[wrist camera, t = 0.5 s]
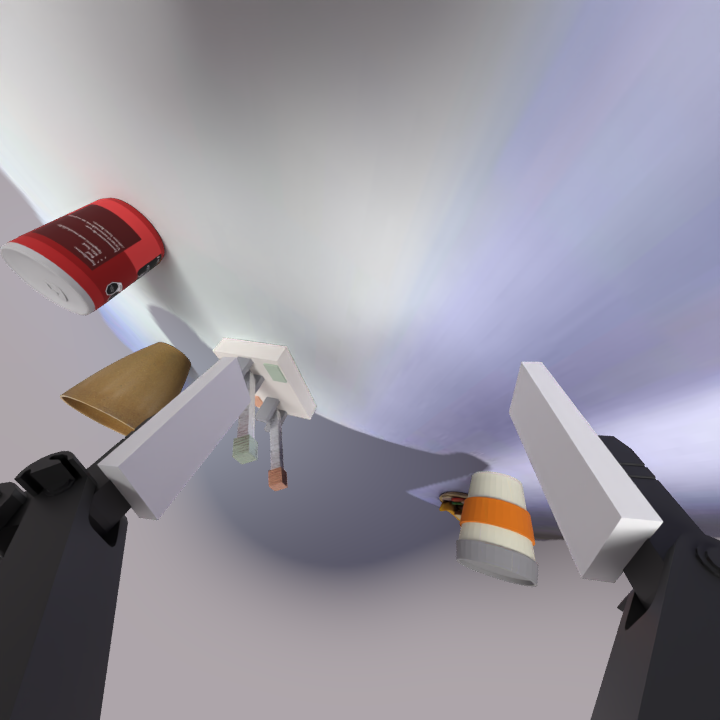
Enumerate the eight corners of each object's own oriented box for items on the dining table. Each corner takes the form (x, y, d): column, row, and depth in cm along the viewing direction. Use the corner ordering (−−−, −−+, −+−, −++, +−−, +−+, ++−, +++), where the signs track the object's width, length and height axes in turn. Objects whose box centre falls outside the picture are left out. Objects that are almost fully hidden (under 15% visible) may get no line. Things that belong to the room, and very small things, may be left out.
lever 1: (238, 367, 43) (232, 456, 33) (251, 364, 43) (248, 451, 34) (245, 377, 45) (241, 464, 35) (258, 373, 45) (257, 459, 35)
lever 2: (267, 405, 51) (268, 486, 42) (277, 402, 52) (282, 482, 42) (272, 412, 53) (274, 491, 43) (282, 409, 53) (287, 487, 43)
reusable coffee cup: (471, 489, 62) (465, 569, 53) (454, 464, 55) (444, 551, 46) (537, 498, 55) (544, 592, 46) (528, 471, 48) (533, 576, 39)
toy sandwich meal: (474, 490, 63) (473, 512, 60) (506, 513, 68) (506, 535, 65) (429, 489, 72) (426, 508, 69) (461, 510, 77) (459, 529, 74)
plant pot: (207, 354, 53) (141, 430, 43) (208, 385, 64) (156, 450, 55) (128, 313, 50) (40, 385, 41) (144, 353, 62) (78, 416, 52)
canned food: (132, 256, 38) (53, 308, 31) (85, 191, 31) (-25, 239, 25) (179, 266, 36) (107, 323, 29) (140, 199, 30) (38, 252, 23)
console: (223, 337, 46) (194, 372, 42) (286, 346, 42) (261, 385, 38) (265, 395, 59) (246, 427, 54) (316, 406, 55) (300, 441, 50)
